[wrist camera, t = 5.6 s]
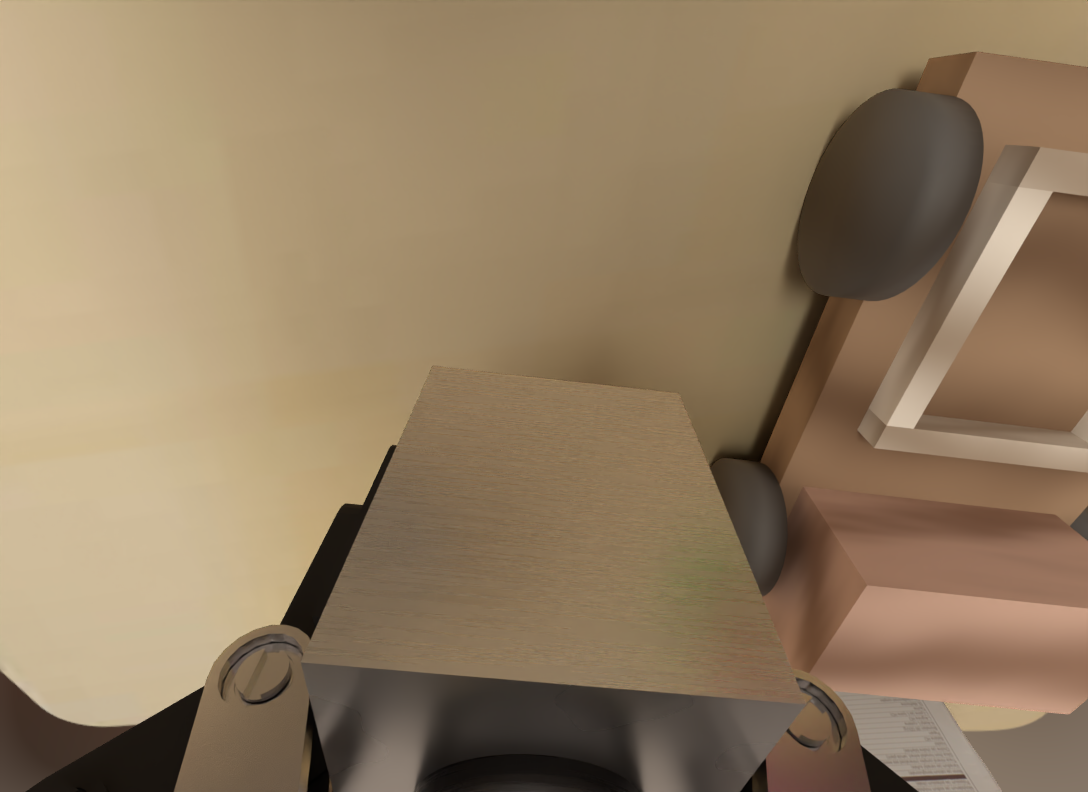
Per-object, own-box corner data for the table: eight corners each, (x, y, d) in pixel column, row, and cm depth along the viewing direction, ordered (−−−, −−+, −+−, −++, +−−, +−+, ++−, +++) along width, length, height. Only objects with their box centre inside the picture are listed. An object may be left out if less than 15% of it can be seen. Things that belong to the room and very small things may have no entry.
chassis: (855, 56, 16) (1099, 11, 9) (1315, 121, 17) (1906, 128, 9) (683, 537, 27) (729, 695, 20) (965, 568, 28) (1112, 733, 20)
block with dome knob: (432, 365, 10) (244, 787, 4) (679, 393, 10) (857, 831, 4) (433, 566, 13) (330, 968, 7) (621, 583, 13) (675, 988, 7)
